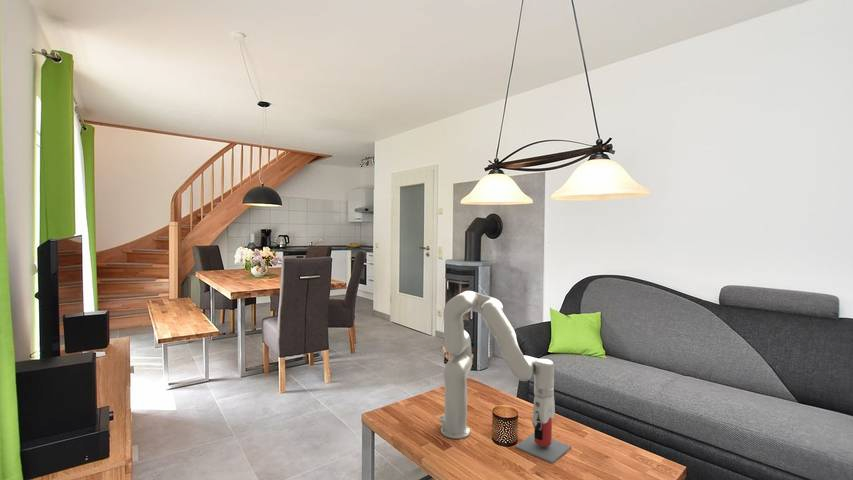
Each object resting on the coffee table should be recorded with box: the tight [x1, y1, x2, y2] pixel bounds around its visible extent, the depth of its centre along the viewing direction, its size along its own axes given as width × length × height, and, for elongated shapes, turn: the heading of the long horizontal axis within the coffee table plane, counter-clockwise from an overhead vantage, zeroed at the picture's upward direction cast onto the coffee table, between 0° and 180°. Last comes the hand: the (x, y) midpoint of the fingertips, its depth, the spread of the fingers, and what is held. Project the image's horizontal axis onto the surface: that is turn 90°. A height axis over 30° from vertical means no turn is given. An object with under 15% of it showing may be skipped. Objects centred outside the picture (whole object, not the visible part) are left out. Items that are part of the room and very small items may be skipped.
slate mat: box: [514, 432, 572, 464], centre depth 160 cm, size 16×16×1 cm
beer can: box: [534, 417, 553, 447], centre depth 160 cm, size 7×7×12 cm
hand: (542, 435), depth 160 cm, fingers closed on beer can, 6 cm apart
